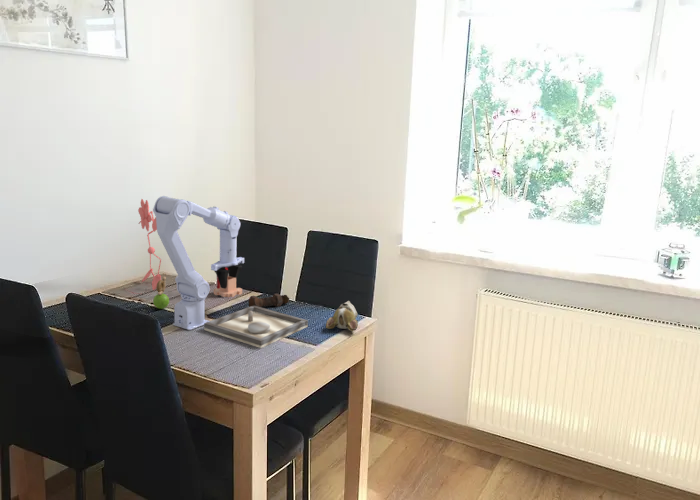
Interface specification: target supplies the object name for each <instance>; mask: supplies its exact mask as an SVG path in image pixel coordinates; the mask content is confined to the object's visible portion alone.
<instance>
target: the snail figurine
mask: <svg viewBox="0 0 700 500" xmlns="http://www.w3.org/2000/svg"><path fill="white" fill-rule="evenodd" d="M162 275H163V276H162V277H161V280H160V281H158V283H157V287H156V289H155V290H156V292H157V294H155V296H154V297H153V300H152V304H153V306H154V307H155V308H157V309H159V310H162V309H165V308H167V307H168V305H169V304H170V298H169V296H168V295H167V294H165V293H164V292H165V290H166V286H167V285H166V280H167V277H166V275H167V273H164V272H162Z"/></svg>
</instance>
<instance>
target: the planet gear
mask: <svg viewBox="0 0 700 500" xmlns="http://www.w3.org/2000/svg"><path fill="white" fill-rule="evenodd" d="M213 294H214V295H215V296H220V295H221V296H220V297H221V298H234V297H235V296H237V295H238V296H239V295H242V294H243V288H241V287H237V281H236V278H235V277H231V276H228V278H227V287H226V288H225V289H224V288H221V287H220V288H219V289H218V288H217V287H216V288H213Z"/></svg>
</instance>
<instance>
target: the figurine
mask: <svg viewBox="0 0 700 500" xmlns="http://www.w3.org/2000/svg"><path fill="white" fill-rule="evenodd" d="M149 210H150V206H149V201H148V199H146V200H145V201H144V199H143V198H141V200H140V207H138V210H137V211H138V214H139V217H140V221H139V222H138V224H139V225H140V224H141V228H142V230H144V229H145V230H146V232H148V233H147V235H146V236H147V240H148V241H147V242H148V249H147V253H148V254H149V270H148V271H147V272H146V274H145V275H144V277H142V280H141V283H144V282H145V281H146V280H147V279H148V278H149V277H150V276H151V275H152V276H153V277H152V281H151V288H152V290H153V291H155V290H157V289H156V287H157V283H158V281H160V280H162V275H161V273H160V268H161V264H162V259H161V258H160V257H159V256H157V255H156V254H155V251H156V249H155V247H153V246H151V242H150V237H149V236H150V234H152V233H154V232H157V223H156V217H154V215H153V214H154V212H153V210H150V211H149ZM150 223H151V228H152V230H151V231H150ZM149 231H150V232H149ZM152 255H153V256H155V257H156V258H157V259H158V260H159V266H158V270H157V274H156V275H155V273H154V272H153V271H154V268H152V260H151V259H152ZM124 290H126V291H128V292H129V293H131V294H135V292H132V291H131V290H129V289H126V288H125V289H124ZM136 294H138V295H141V293H139V292H136Z"/></svg>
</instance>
